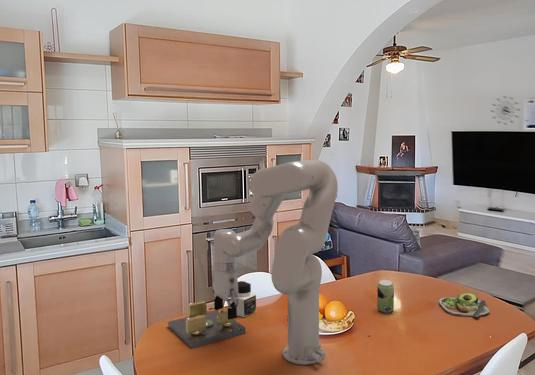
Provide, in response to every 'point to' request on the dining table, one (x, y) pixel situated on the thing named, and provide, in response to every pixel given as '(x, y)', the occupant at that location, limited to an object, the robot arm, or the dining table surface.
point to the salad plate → (465, 305)
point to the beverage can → (385, 296)
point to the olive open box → (197, 309)
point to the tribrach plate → (206, 330)
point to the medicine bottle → (245, 300)
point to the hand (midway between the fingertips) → (225, 313)
